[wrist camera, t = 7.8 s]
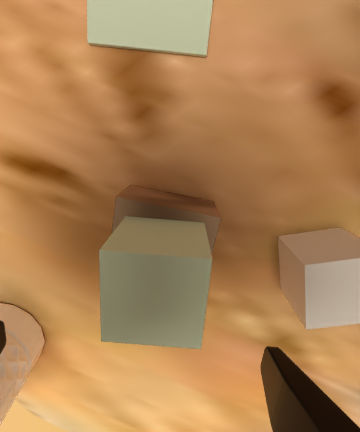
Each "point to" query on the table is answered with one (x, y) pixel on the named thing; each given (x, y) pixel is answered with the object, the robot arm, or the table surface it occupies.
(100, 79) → the table surface
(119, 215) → the walnut base
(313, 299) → the grey block
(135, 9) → the tile
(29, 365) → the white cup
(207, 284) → the sage block
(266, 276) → the table surface
